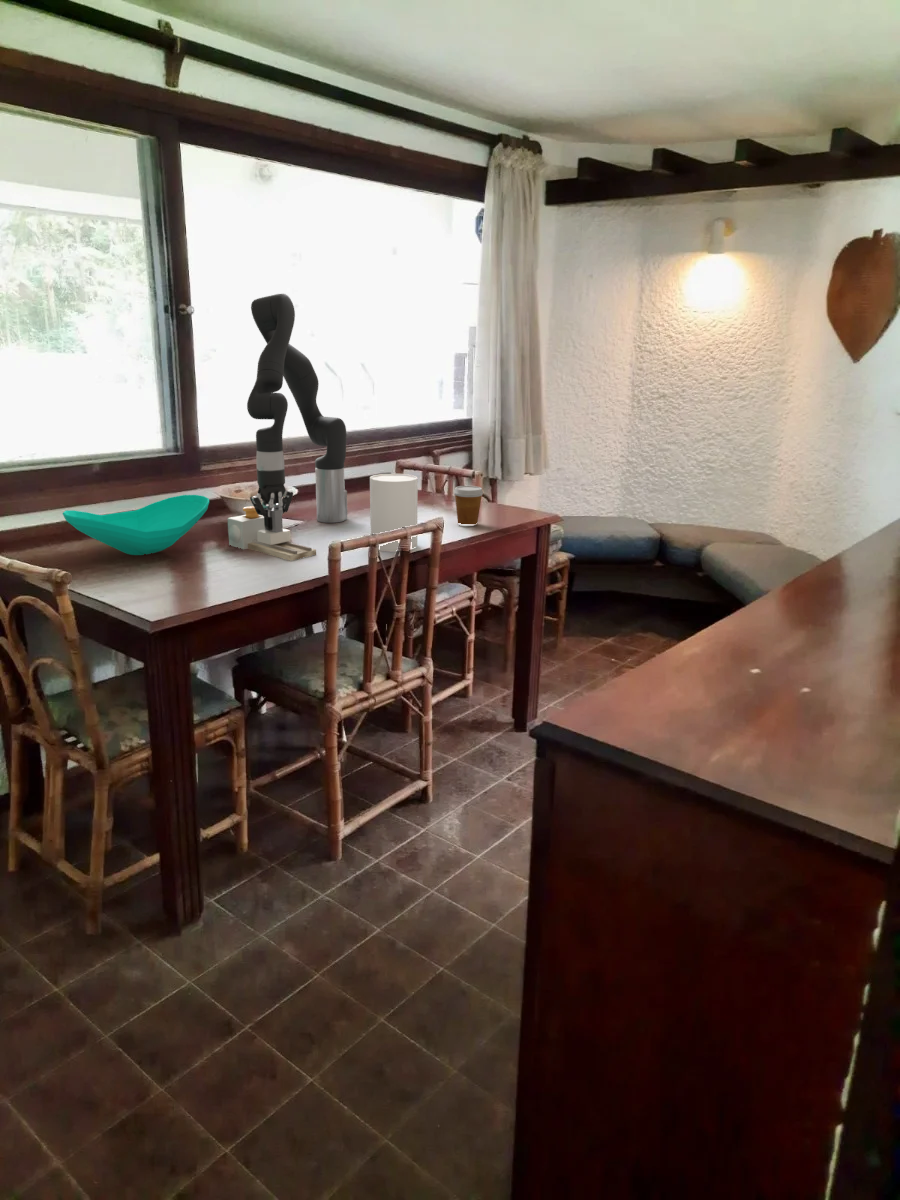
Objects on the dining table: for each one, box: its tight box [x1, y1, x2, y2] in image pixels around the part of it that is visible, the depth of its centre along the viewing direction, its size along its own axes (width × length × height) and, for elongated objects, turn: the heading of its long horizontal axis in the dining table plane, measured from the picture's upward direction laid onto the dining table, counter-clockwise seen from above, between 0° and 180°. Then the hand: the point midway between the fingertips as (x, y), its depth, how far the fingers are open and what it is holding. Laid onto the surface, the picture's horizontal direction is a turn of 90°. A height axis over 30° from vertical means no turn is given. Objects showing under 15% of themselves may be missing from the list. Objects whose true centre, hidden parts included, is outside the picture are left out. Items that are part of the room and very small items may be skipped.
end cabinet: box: [226, 514, 265, 550], centre depth 240 cm, size 12×7×8 cm, turn 139°
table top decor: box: [62, 494, 210, 556], centre depth 229 cm, size 40×28×13 cm
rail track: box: [247, 539, 317, 562], centre depth 233 cm, size 9×19×2 cm, turn 49°
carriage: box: [257, 508, 292, 545], centre depth 233 cm, size 7×6×9 cm
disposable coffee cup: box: [453, 485, 484, 524], centre depth 269 cm, size 10×10×12 cm
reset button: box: [242, 505, 259, 519], centre depth 239 cm, size 5×5×4 cm
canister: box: [369, 473, 419, 553], centre depth 239 cm, size 14×14×20 cm
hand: (273, 528), depth 234 cm, fingers closed on carriage, 2 cm apart
